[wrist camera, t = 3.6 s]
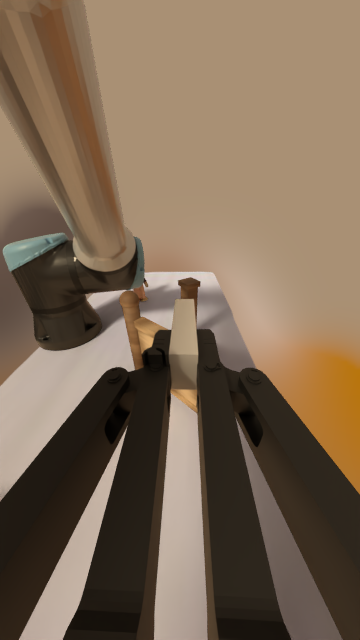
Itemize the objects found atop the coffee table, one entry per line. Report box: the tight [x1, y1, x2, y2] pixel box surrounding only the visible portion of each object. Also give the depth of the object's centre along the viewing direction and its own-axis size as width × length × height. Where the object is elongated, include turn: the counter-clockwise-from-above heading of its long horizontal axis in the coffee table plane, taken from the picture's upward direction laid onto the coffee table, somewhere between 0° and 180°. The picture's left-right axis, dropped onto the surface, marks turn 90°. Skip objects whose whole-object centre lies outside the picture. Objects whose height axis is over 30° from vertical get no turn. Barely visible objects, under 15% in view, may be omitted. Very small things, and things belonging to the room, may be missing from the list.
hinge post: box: [120, 291, 143, 370], centre depth 33 cm, size 3×3×17 cm
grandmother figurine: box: [133, 278, 148, 301], centre depth 62 cm, size 8×4×13 cm, turn 89°
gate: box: [134, 317, 197, 413], centre depth 29 cm, size 14×2×11 cm, turn 49°
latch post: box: [178, 277, 200, 322], centre depth 41 cm, size 3×3×15 cm
